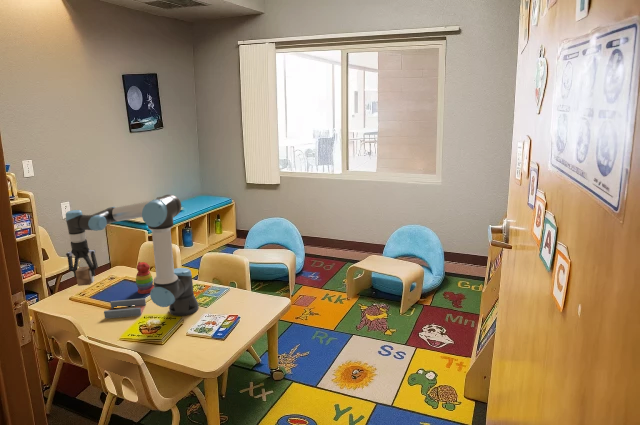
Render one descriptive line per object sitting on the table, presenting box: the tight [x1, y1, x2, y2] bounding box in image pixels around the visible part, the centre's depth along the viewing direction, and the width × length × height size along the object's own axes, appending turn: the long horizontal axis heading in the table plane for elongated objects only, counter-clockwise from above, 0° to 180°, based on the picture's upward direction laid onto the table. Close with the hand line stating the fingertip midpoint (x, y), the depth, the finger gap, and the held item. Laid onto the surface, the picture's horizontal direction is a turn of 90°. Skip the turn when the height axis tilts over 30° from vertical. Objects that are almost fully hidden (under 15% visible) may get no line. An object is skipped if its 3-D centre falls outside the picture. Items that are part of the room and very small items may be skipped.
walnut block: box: [75, 265, 92, 287], centre depth 240 cm, size 6×6×8 cm
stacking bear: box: [135, 261, 154, 295], centre depth 271 cm, size 11×10×18 cm
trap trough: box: [103, 297, 147, 320], centre depth 248 cm, size 18×12×4 cm
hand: (86, 282), depth 241 cm, fingers closed on walnut block, 6 cm apart
